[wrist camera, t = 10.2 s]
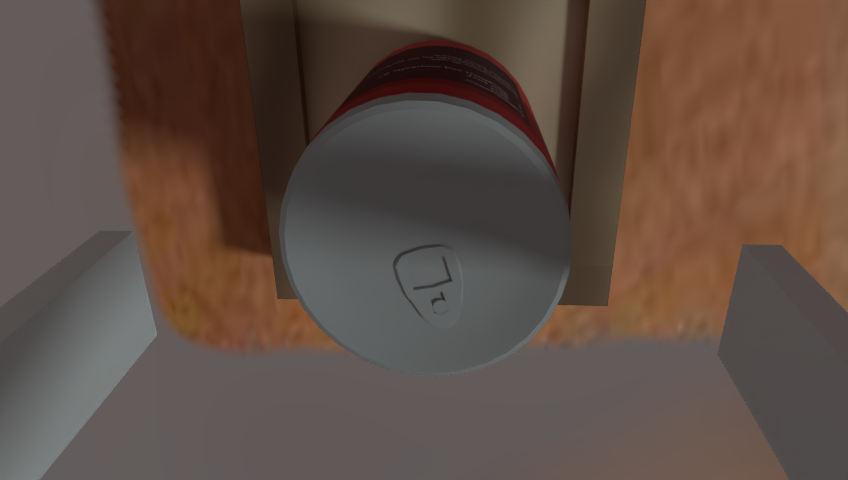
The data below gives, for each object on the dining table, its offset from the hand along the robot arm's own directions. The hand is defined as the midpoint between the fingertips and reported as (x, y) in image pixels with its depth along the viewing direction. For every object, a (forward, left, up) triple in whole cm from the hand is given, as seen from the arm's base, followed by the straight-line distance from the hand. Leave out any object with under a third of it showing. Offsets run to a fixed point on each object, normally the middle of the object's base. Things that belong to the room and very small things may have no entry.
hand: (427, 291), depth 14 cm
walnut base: (0, 0, -16) cm, 17 cm away
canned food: (0, 0, -14) cm, 14 cm away
